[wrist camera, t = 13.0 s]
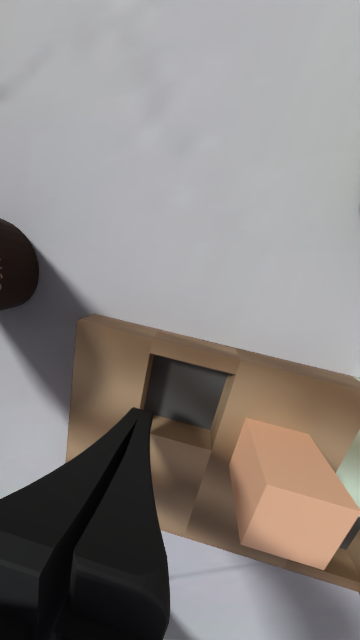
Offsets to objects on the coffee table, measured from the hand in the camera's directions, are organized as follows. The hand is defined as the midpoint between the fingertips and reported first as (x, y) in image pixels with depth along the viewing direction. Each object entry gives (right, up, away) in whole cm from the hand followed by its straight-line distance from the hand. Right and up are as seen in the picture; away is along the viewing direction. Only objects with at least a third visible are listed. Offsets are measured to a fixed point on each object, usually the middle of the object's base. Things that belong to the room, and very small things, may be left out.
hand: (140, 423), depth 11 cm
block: (+8, -2, +1) cm, 9 cm away
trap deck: (+7, -4, +4) cm, 8 cm away
